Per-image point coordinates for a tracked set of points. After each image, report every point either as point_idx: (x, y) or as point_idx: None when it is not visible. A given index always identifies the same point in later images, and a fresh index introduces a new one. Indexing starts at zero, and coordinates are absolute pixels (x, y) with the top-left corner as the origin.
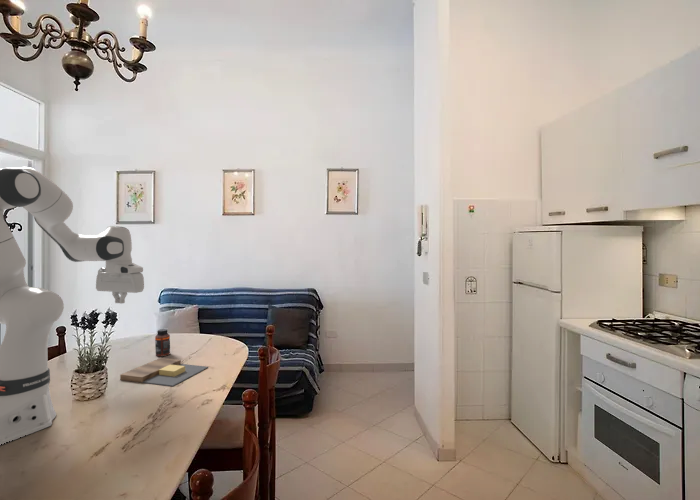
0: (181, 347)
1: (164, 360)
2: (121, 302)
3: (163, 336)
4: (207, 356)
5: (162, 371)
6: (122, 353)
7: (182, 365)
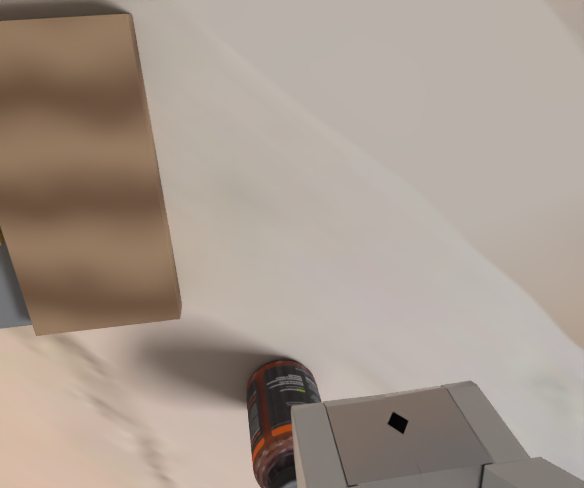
0: None
1: (116, 297)
2: (293, 426)
3: (264, 457)
4: (37, 450)
5: None
6: (500, 325)
7: (6, 308)
